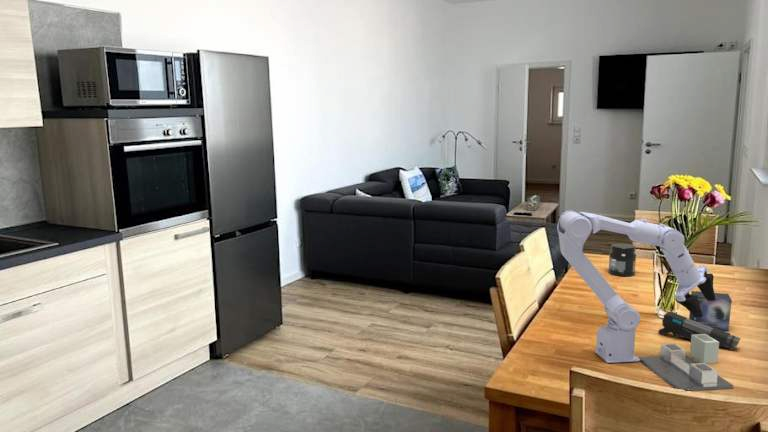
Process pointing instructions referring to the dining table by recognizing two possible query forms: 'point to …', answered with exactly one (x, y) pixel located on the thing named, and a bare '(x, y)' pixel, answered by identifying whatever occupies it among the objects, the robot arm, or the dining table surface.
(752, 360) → the dining table surface
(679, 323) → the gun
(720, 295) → the small box
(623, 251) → the supplement container
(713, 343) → the block
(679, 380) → the panel
